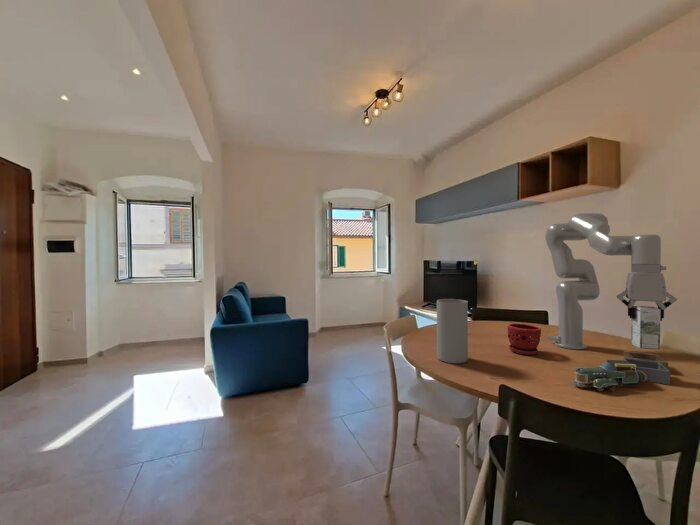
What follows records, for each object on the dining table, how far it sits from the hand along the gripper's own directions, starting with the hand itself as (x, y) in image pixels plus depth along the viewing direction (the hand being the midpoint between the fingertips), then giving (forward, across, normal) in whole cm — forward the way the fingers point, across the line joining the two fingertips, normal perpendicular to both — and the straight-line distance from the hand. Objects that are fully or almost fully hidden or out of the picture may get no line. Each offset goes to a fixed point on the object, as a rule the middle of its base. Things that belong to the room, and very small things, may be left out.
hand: (645, 318), depth 108 cm
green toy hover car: (+21, +12, +16) cm, 29 cm away
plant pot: (+21, +38, -11) cm, 45 cm away
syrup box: (+10, 0, 0) cm, 10 cm away
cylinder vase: (+21, +64, +15) cm, 69 cm away
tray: (+21, 0, 0) cm, 21 cm away
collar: (+21, -3, -13) cm, 25 cm away
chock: (+21, +8, +7) cm, 23 cm away
